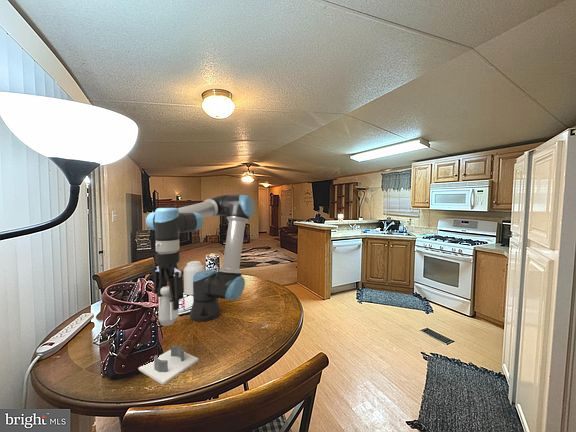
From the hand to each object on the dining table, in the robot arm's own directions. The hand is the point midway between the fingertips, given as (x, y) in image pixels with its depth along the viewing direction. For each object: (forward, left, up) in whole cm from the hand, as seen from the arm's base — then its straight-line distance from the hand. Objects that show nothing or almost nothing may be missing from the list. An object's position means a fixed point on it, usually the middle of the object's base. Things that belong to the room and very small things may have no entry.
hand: (168, 315), depth 86 cm
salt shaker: (0, 0, -3) cm, 3 cm away
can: (-52, +53, -18) cm, 77 cm away
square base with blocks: (0, 0, -18) cm, 18 cm away
